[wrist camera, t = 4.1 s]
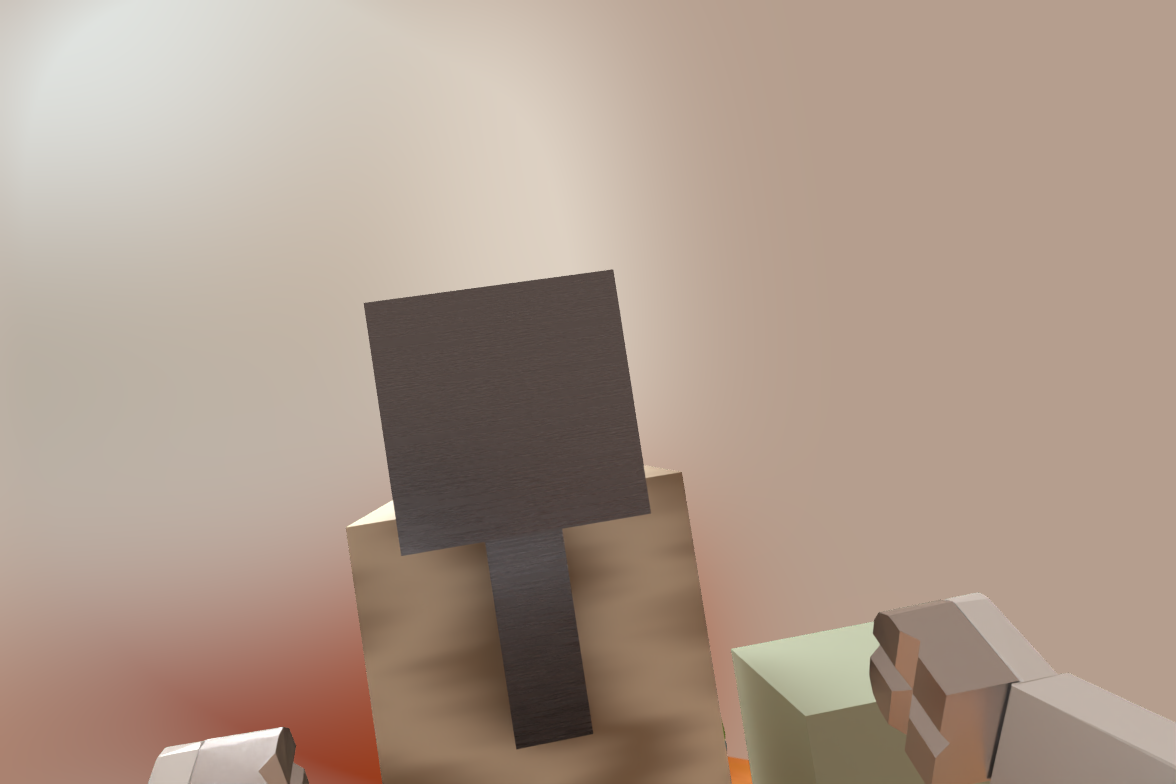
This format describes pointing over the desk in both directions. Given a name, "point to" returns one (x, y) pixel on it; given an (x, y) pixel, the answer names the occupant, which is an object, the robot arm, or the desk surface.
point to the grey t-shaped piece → (513, 457)
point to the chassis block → (818, 712)
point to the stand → (607, 642)
